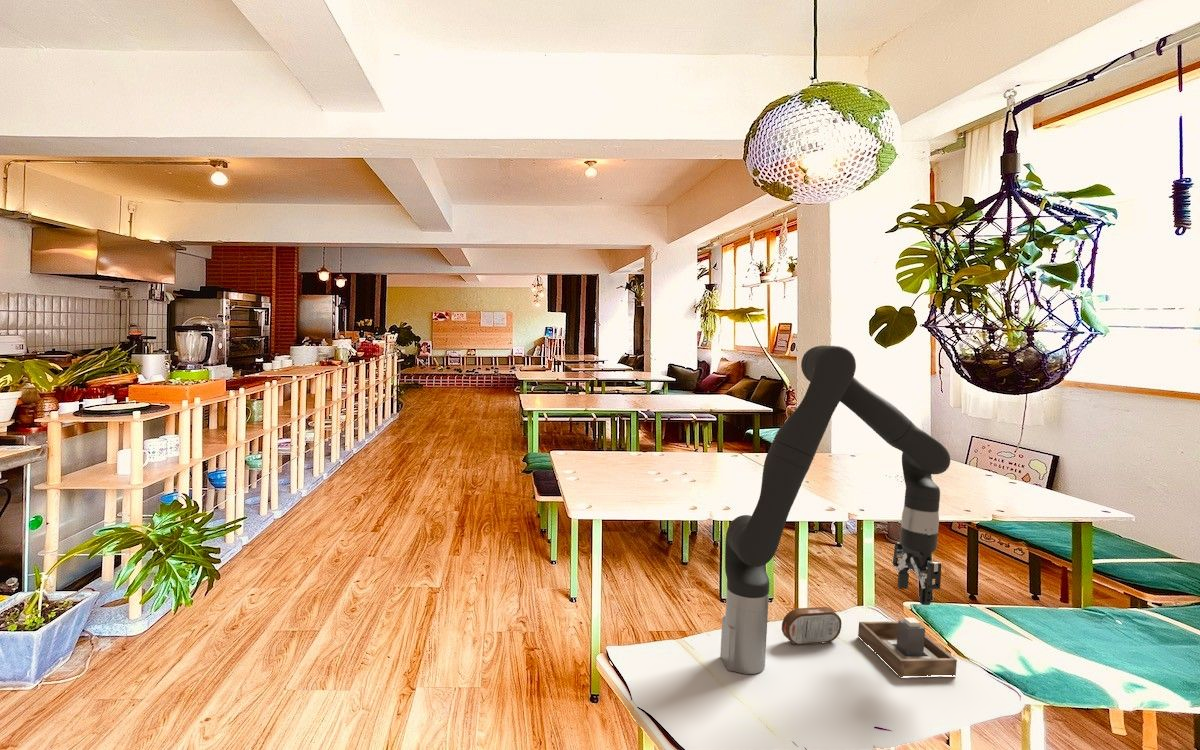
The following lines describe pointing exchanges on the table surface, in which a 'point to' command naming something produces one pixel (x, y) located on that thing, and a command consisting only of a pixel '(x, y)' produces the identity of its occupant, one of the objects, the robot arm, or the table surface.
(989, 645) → the table surface
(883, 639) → the box
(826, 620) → the tin
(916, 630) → the connector
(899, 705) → the table surface
